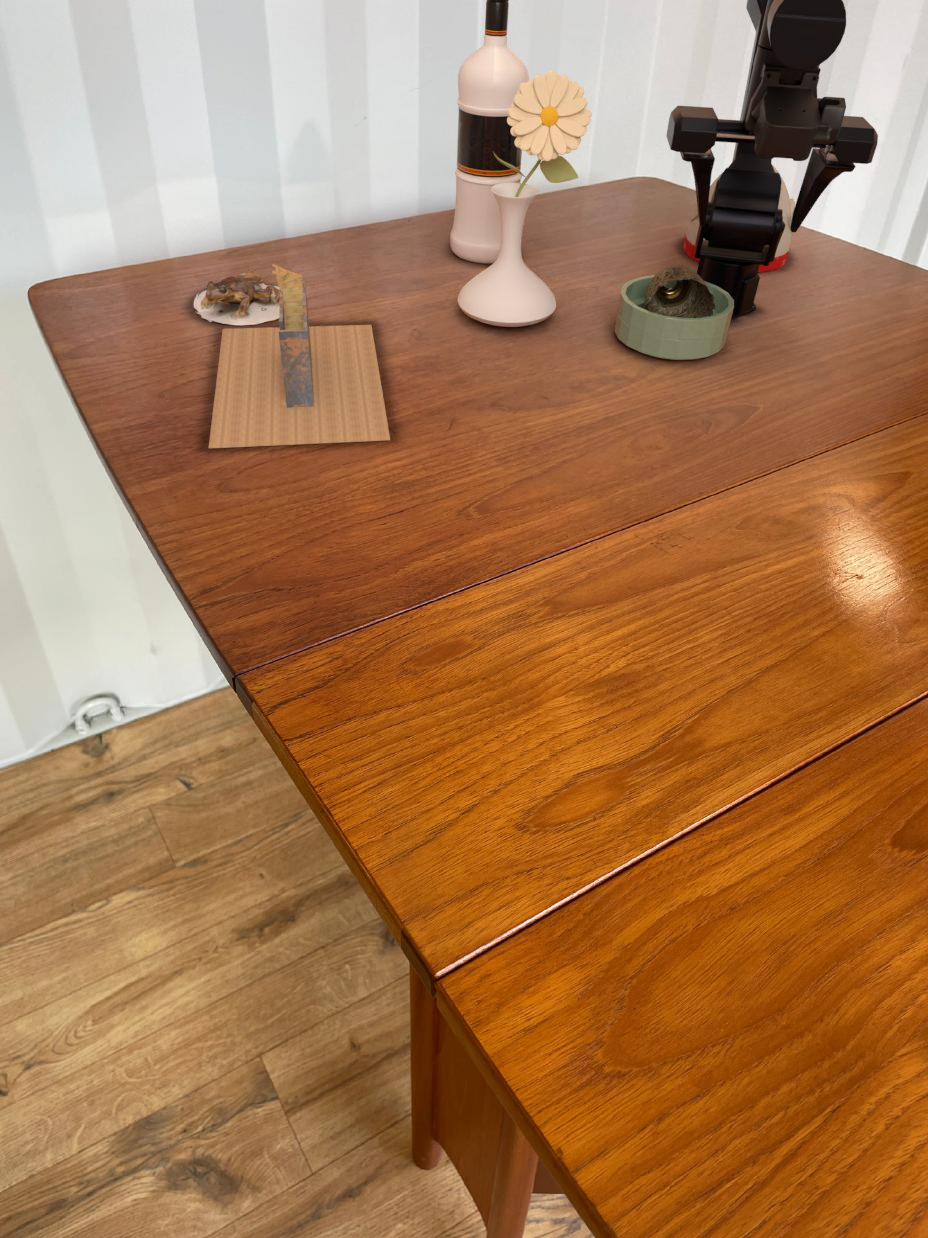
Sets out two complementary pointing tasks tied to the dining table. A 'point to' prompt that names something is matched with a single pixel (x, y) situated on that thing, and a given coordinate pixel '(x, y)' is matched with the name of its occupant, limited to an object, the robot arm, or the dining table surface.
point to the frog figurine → (239, 300)
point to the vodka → (485, 139)
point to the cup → (679, 294)
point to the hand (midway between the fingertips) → (747, 227)
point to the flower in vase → (528, 201)
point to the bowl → (671, 325)
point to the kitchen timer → (785, 240)
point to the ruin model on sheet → (297, 380)
